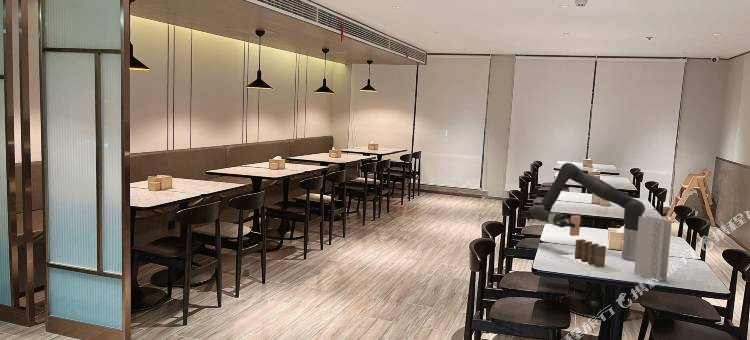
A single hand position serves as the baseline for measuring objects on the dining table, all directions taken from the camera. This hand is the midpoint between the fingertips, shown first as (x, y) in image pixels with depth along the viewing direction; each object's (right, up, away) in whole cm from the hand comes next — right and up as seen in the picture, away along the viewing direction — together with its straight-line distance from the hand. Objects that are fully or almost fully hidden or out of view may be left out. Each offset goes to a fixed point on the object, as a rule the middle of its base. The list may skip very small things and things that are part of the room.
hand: (578, 225), depth 314 cm
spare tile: (-1, -6, +3) cm, 7 cm away
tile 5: (+6, -20, -14) cm, 25 cm away
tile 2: (0, -19, 0) cm, 19 cm away
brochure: (+25, -23, -30) cm, 45 cm away
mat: (+3, -20, -7) cm, 21 cm away
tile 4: (+4, -20, -9) cm, 22 cm away
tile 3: (+2, -19, -5) cm, 20 cm away
